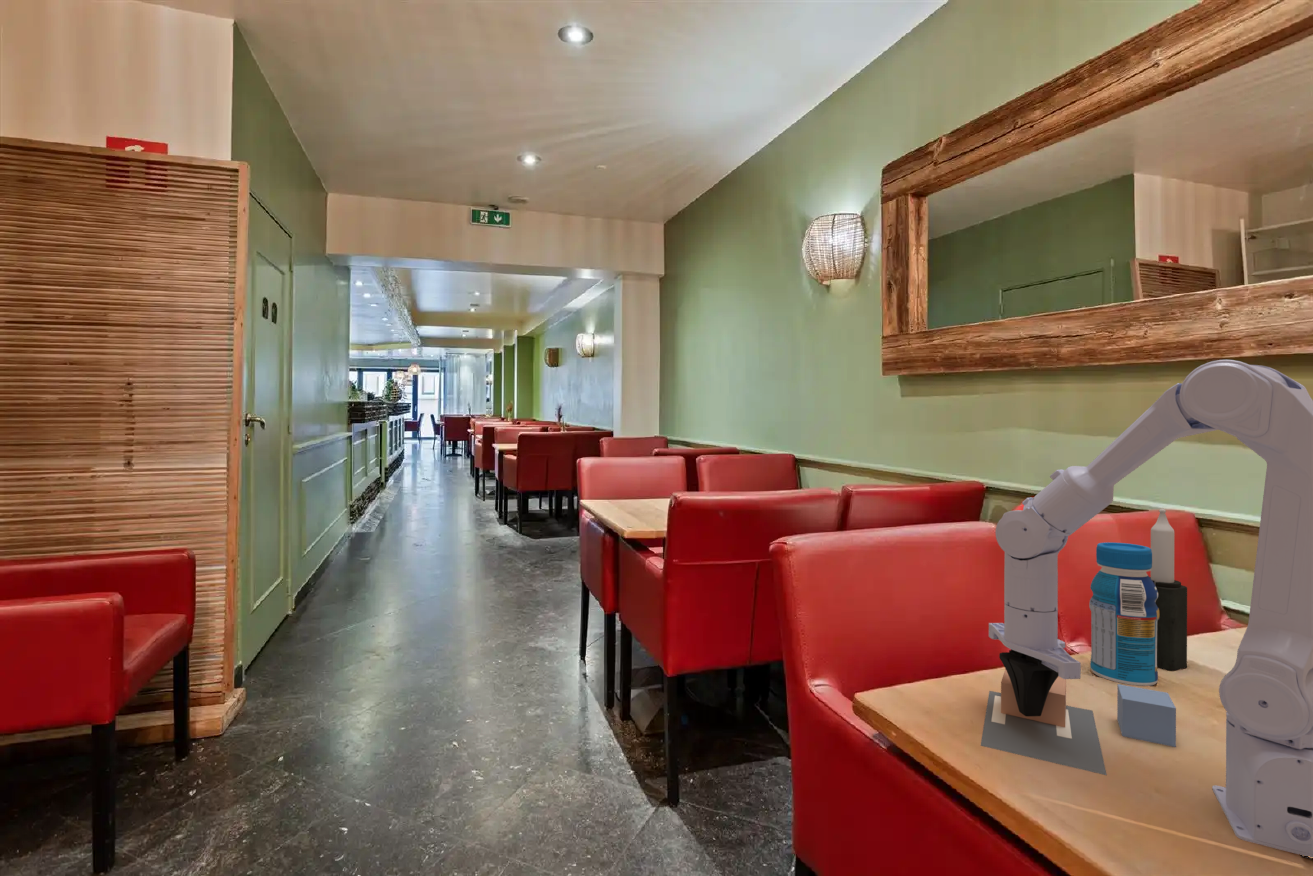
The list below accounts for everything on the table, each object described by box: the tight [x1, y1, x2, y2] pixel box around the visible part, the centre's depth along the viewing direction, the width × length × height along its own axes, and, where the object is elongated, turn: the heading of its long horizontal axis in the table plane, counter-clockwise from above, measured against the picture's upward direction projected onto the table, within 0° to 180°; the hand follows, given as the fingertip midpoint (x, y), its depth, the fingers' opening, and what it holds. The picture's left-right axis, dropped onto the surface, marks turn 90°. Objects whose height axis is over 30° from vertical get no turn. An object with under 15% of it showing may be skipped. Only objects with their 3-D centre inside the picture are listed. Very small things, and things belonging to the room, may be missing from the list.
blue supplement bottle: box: [1088, 541, 1159, 687], centre depth 93 cm, size 8×8×20 cm
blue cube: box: [1116, 683, 1177, 748], centre depth 75 cm, size 5×5×5 cm
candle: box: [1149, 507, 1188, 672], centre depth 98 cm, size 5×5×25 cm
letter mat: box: [980, 690, 1108, 776], centre depth 76 cm, size 18×12×1 cm, turn 148°
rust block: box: [1000, 668, 1067, 727], centre depth 81 cm, size 7×7×4 cm
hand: (1030, 714), depth 77 cm, fingers closed
